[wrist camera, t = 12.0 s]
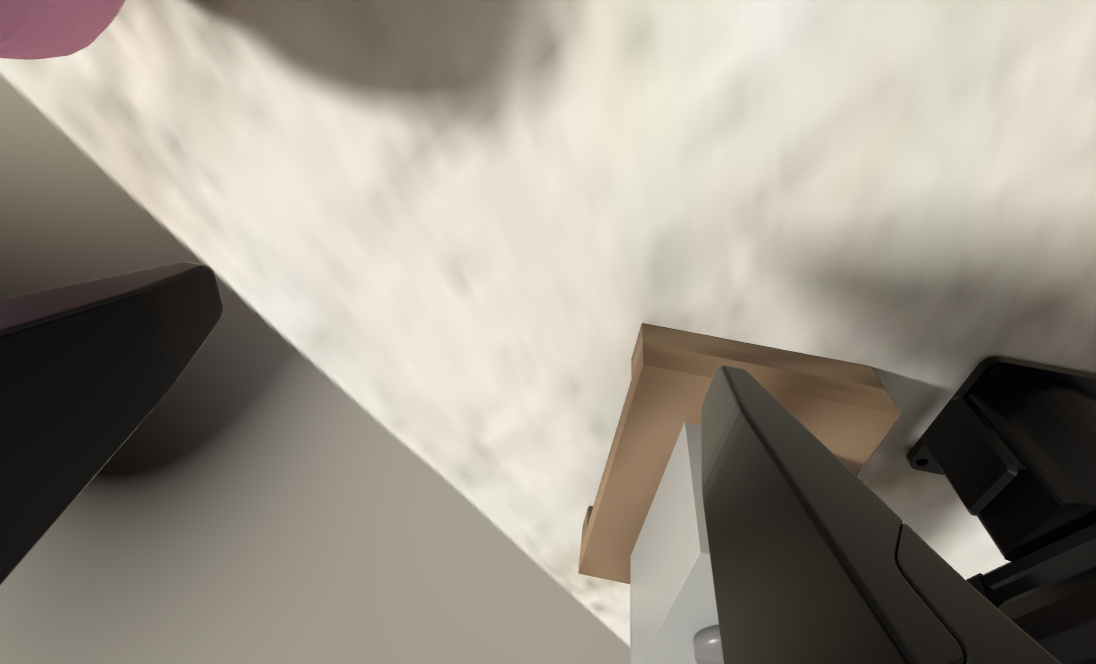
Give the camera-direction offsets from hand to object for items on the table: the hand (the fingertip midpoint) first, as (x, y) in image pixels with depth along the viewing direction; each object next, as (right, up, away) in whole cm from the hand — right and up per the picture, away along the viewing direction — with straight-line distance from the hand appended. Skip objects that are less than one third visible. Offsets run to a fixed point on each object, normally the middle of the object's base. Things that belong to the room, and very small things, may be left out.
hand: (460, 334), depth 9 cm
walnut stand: (+10, -7, +17) cm, 21 cm away
